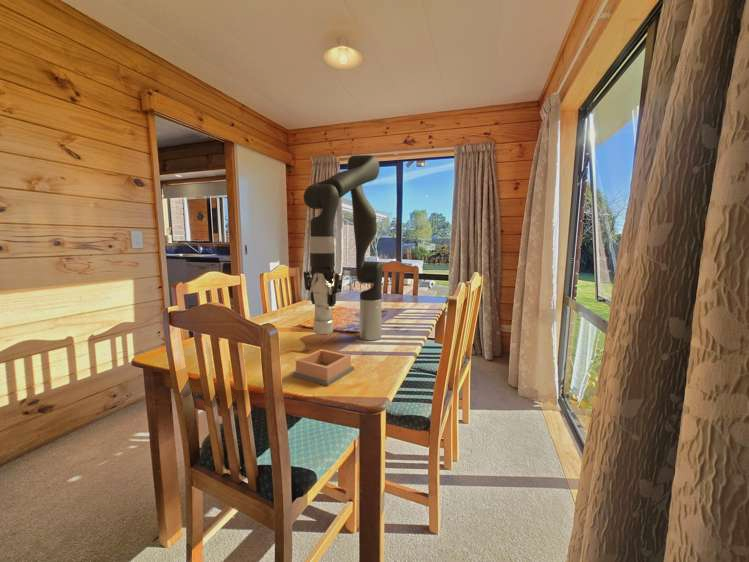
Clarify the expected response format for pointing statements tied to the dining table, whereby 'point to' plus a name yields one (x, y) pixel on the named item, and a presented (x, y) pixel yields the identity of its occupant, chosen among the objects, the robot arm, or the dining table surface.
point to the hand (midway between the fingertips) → (323, 304)
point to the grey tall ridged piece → (322, 308)
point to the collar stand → (323, 367)
